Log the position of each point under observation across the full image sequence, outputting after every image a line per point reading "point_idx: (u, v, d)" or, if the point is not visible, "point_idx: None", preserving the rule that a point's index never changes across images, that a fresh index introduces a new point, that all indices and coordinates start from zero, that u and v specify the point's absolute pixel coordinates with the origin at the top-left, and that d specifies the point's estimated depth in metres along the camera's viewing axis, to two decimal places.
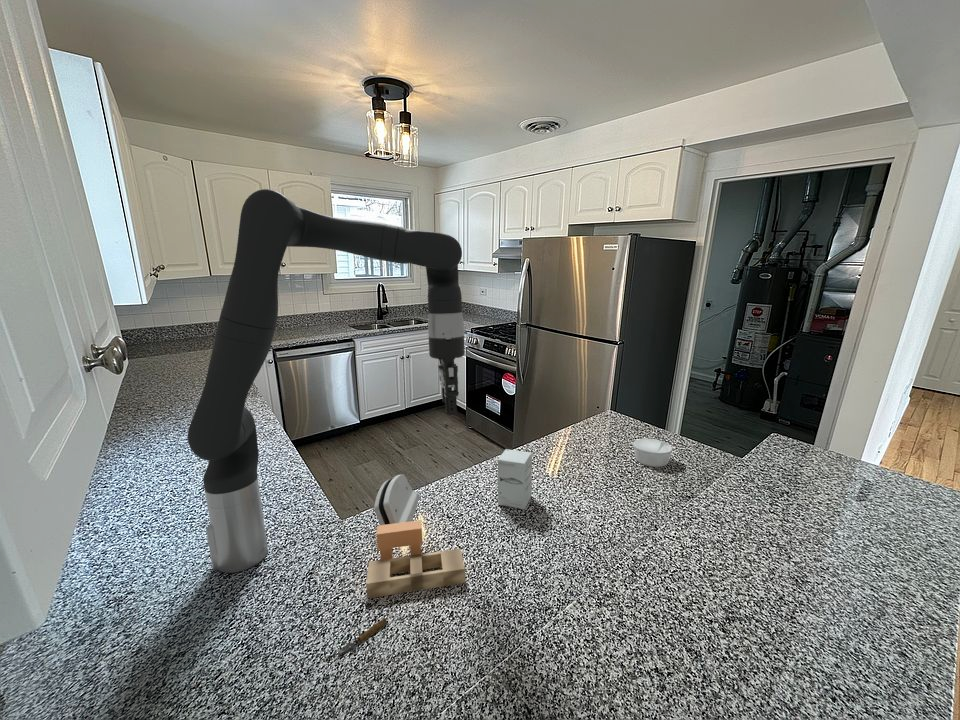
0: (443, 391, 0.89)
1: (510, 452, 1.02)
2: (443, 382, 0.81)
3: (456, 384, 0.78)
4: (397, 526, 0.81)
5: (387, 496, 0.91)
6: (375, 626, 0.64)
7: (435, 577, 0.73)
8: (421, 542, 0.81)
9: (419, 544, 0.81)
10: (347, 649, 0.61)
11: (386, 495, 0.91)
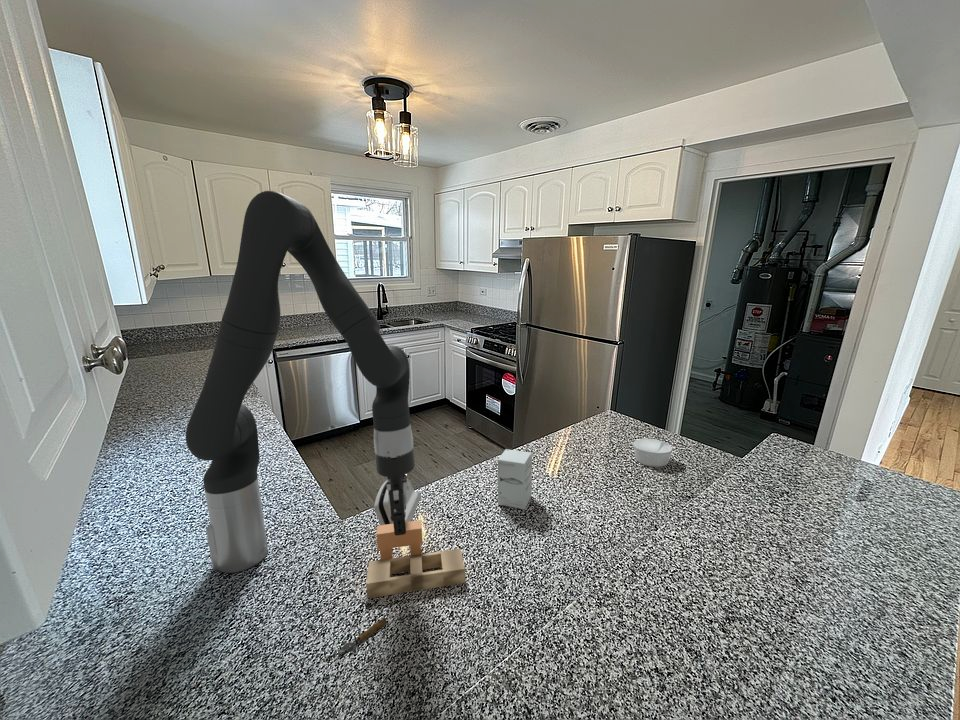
0: None
1: (510, 452, 1.02)
2: None
3: (402, 508, 0.73)
4: None
5: (387, 495, 0.91)
6: (374, 625, 0.64)
7: (435, 577, 0.73)
8: (421, 542, 0.81)
9: (419, 544, 0.81)
10: (347, 649, 0.61)
11: (386, 494, 0.92)
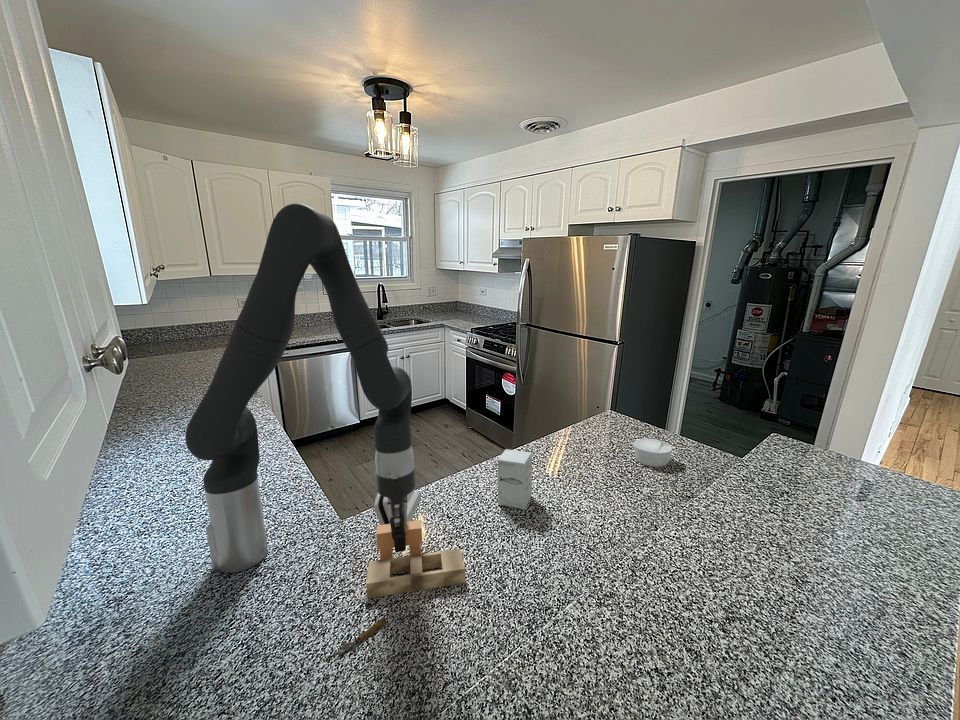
0: None
1: (510, 452, 1.02)
2: None
3: (403, 531, 0.75)
4: None
5: None
6: (374, 625, 0.65)
7: (435, 577, 0.73)
8: (421, 542, 0.81)
9: (419, 544, 0.81)
10: (347, 648, 0.61)
11: None
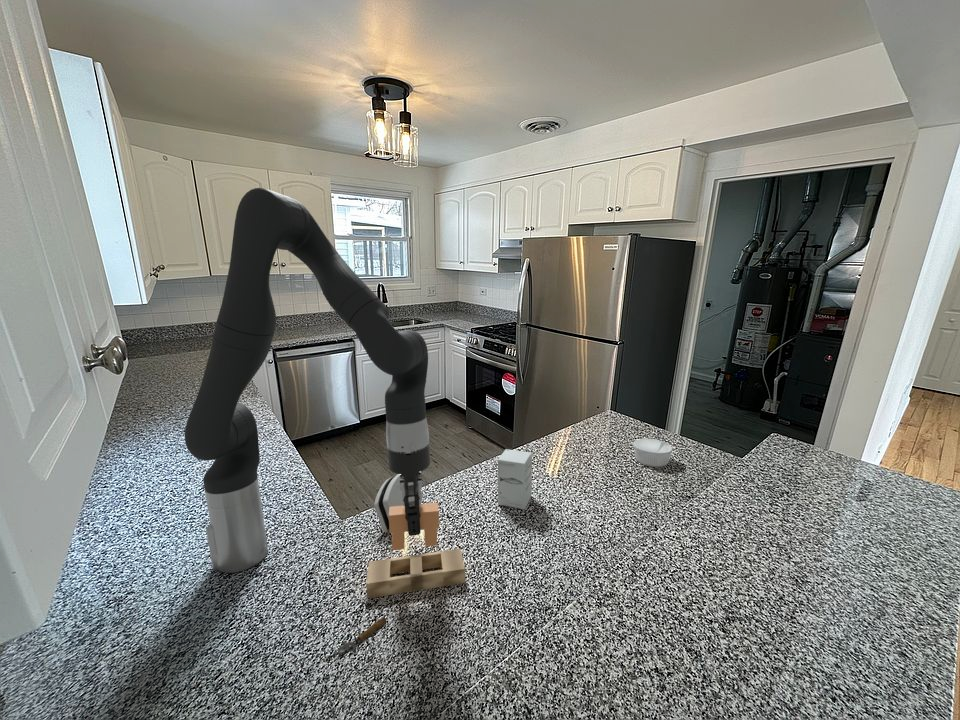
0: None
1: (510, 452, 1.02)
2: None
3: (418, 511, 0.68)
4: None
5: (387, 493, 0.92)
6: (374, 625, 0.65)
7: (435, 577, 0.73)
8: (437, 526, 0.73)
9: (435, 528, 0.73)
10: (347, 648, 0.61)
11: (386, 492, 0.92)
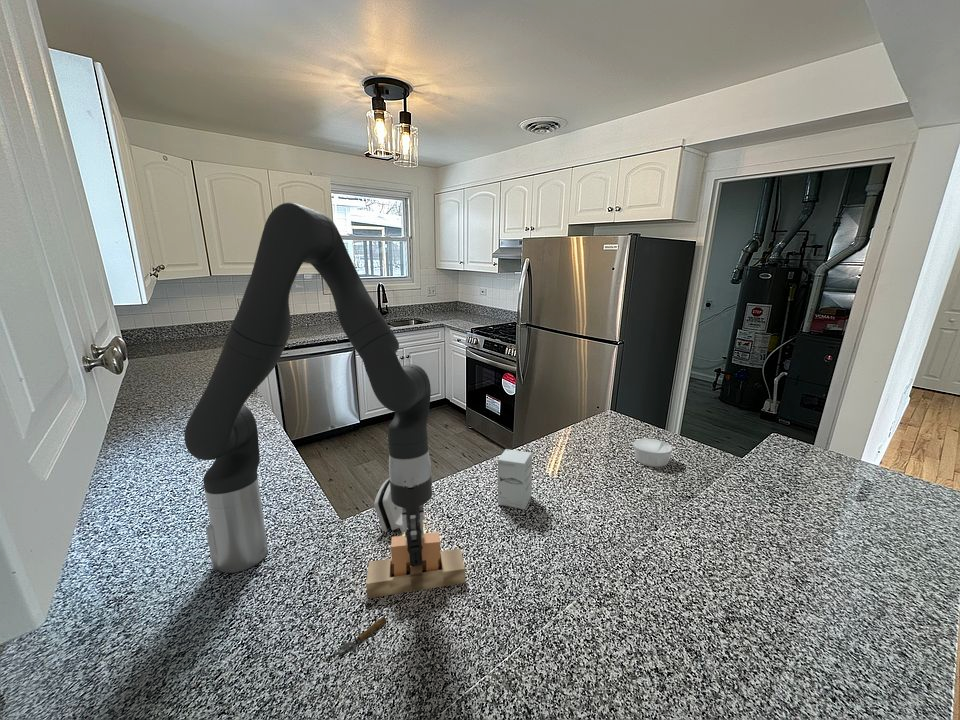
0: None
1: (510, 452, 1.02)
2: None
3: (420, 544, 0.69)
4: None
5: (387, 493, 0.92)
6: (374, 625, 0.65)
7: (435, 577, 0.73)
8: (439, 557, 0.74)
9: (436, 559, 0.74)
10: (347, 648, 0.61)
11: (386, 492, 0.93)
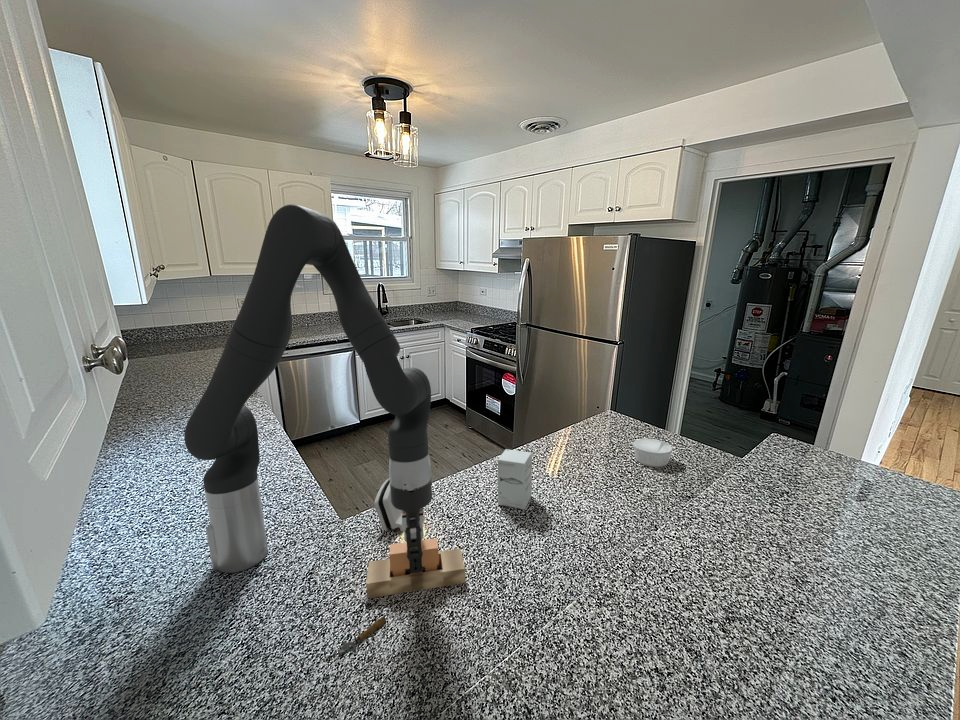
0: None
1: (510, 452, 1.02)
2: (406, 537, 0.70)
3: (419, 547, 0.67)
4: None
5: (387, 492, 0.93)
6: (374, 624, 0.65)
7: (435, 577, 0.73)
8: (437, 563, 0.74)
9: (435, 565, 0.74)
10: (347, 648, 0.61)
11: (386, 491, 0.93)
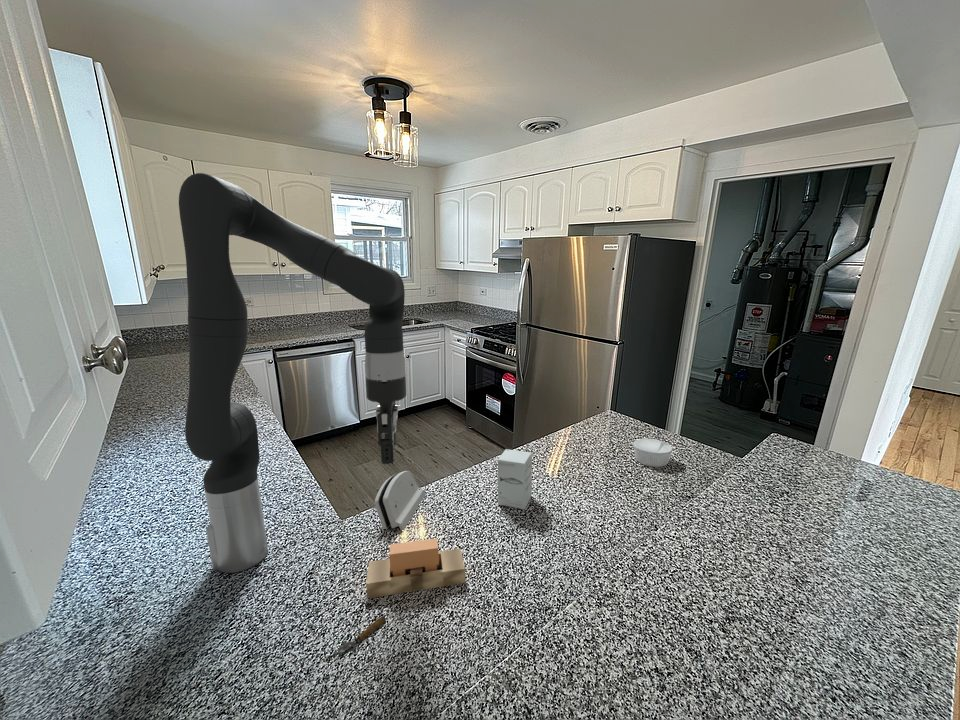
0: (385, 433, 0.81)
1: (510, 452, 1.02)
2: None
3: (390, 432, 0.70)
4: (411, 545, 0.75)
5: (387, 491, 0.93)
6: (374, 624, 0.65)
7: (435, 577, 0.73)
8: (437, 563, 0.74)
9: (435, 565, 0.74)
10: (347, 648, 0.61)
11: (387, 490, 0.93)
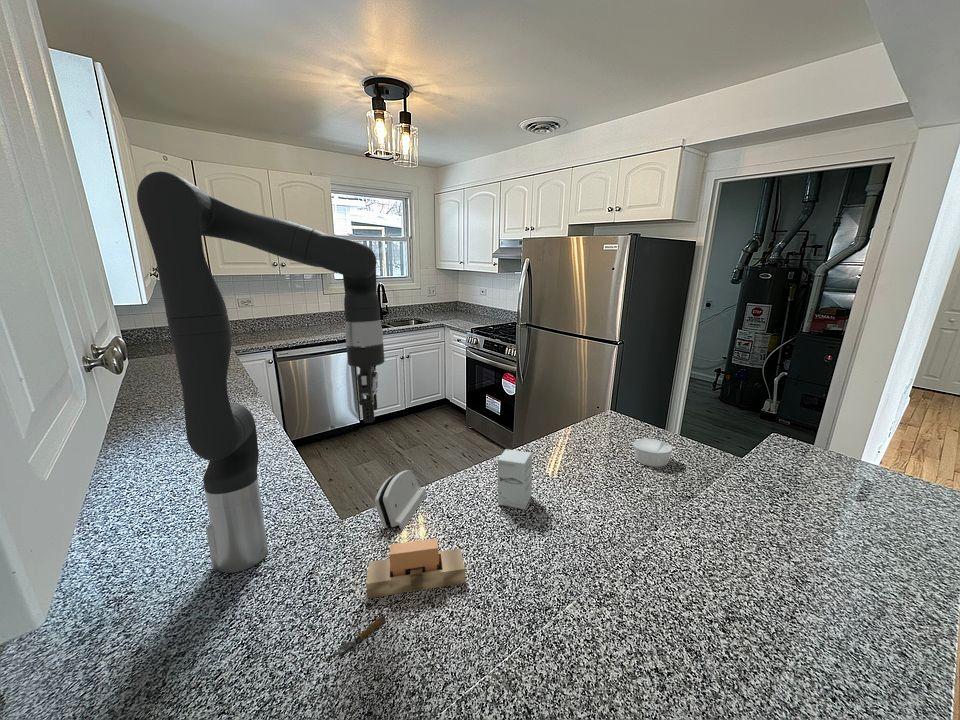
0: (367, 398, 0.89)
1: (510, 452, 1.02)
2: None
3: (369, 392, 0.78)
4: (411, 545, 0.75)
5: (388, 490, 0.93)
6: (373, 623, 0.65)
7: (435, 577, 0.73)
8: (437, 563, 0.74)
9: (435, 565, 0.74)
10: (347, 648, 0.61)
11: (387, 489, 0.94)
